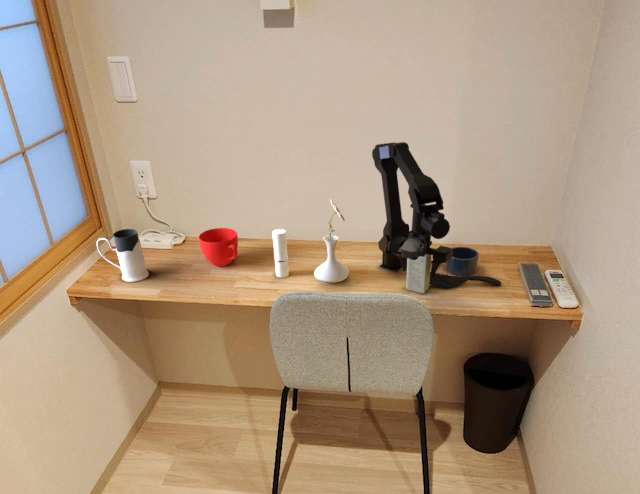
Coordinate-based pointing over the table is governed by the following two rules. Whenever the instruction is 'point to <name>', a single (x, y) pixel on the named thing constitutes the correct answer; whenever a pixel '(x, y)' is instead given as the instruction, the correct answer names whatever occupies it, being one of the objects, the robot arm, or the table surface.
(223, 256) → the ceramic cup
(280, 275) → the tube
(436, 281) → the hairbrush
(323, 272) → the flower in vase
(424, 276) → the cosmetic box
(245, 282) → the table surface
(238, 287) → the table surface
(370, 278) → the table surface
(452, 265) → the crock
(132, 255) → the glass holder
